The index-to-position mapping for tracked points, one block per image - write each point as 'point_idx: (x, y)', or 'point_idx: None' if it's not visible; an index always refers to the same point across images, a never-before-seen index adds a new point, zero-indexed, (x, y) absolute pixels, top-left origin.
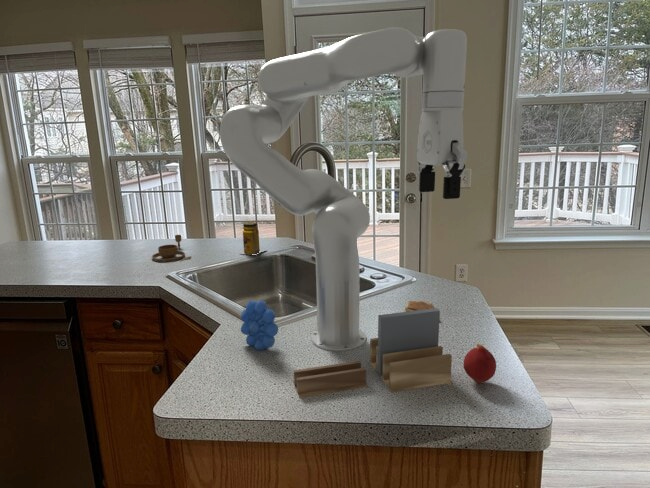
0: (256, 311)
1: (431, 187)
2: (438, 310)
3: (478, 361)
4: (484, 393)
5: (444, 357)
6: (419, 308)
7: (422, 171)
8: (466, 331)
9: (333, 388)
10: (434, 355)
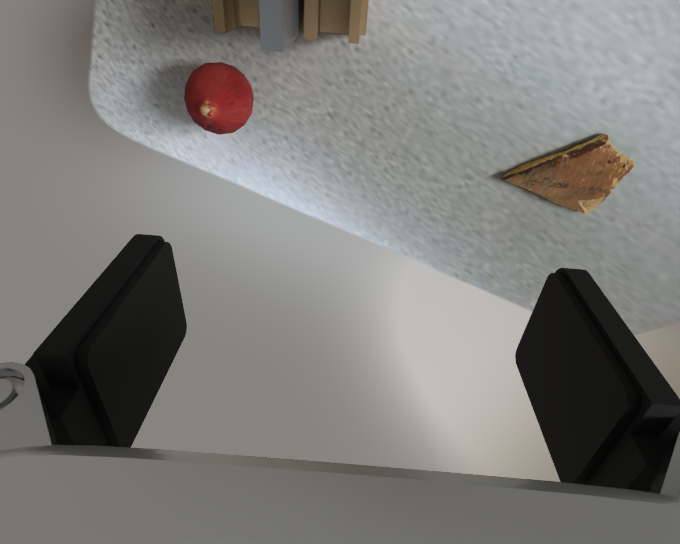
0: None
1: (529, 359)
2: (264, 47)
3: (190, 84)
4: None
5: (213, 9)
6: (576, 166)
7: (672, 437)
8: (427, 201)
9: None
10: None
